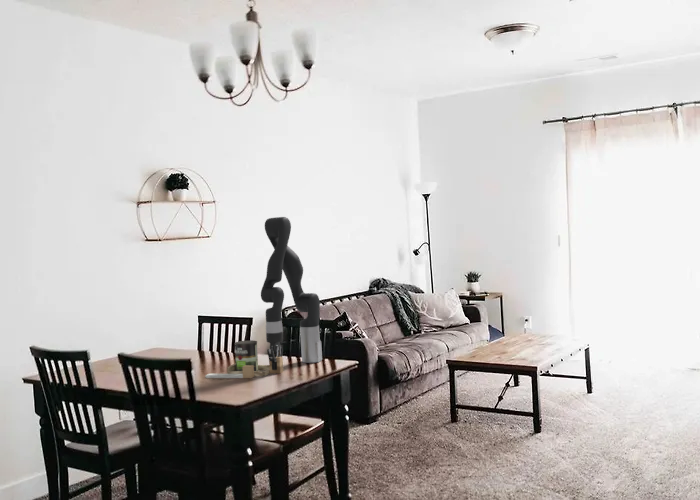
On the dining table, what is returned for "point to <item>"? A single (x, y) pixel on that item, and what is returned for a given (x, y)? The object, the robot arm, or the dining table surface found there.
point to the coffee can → (246, 354)
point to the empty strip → (247, 373)
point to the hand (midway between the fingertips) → (276, 369)
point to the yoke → (260, 368)
